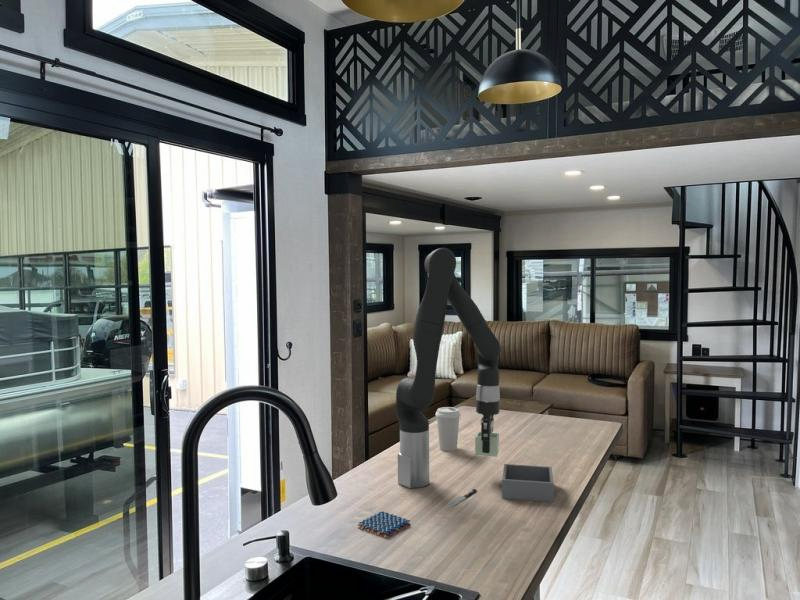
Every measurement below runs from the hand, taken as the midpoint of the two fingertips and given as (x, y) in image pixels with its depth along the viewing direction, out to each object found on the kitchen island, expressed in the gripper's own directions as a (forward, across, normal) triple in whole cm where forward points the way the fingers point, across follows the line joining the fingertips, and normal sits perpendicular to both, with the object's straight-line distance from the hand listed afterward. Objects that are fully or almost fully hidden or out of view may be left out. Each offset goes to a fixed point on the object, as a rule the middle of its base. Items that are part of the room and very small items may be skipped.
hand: (486, 449), depth 188 cm
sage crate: (+1, 0, 0) cm, 1 cm away
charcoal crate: (+9, +10, +14) cm, 19 cm away
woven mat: (+11, +43, -22) cm, 50 cm away
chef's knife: (+10, +21, -6) cm, 24 cm away
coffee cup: (+9, -27, -17) cm, 33 cm away
